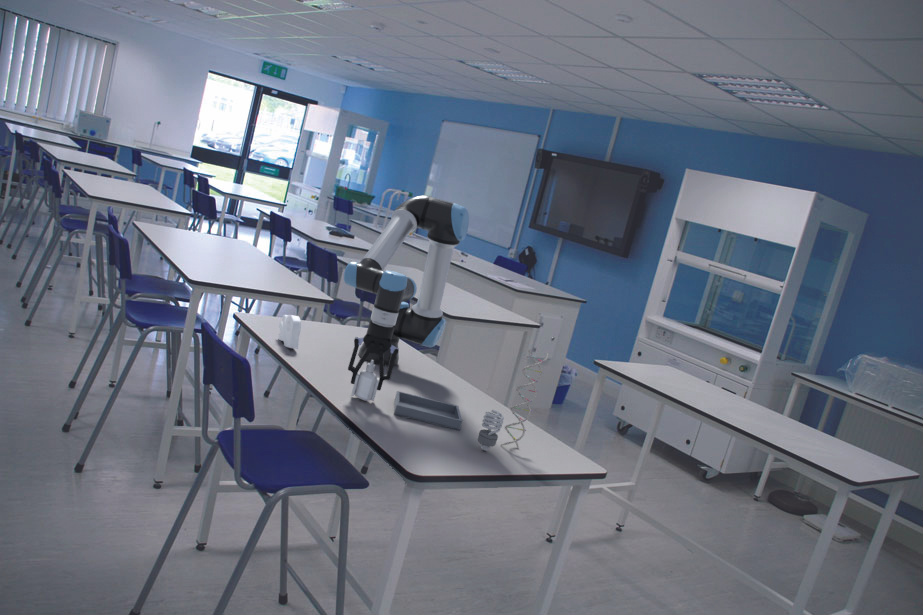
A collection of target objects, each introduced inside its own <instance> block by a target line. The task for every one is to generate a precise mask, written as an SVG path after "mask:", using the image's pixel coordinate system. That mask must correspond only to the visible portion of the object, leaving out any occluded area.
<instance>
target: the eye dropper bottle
mask: <svg viewBox="0 0 923 615" xmlns="http://www.w3.org/2000/svg"><path fill="white" fill-rule="evenodd" d="M375 368H376V364H375V363H374V360H371V362H370V361H369V362H368V363H367V364H366V368H365V369H364V370H360V372H359V373H360V374H359V378H358V382H357V385H356V389H355V393H354V396H355V397H357V398H358V399H360V400H362V401H365V402H370V401H372V400H371V399H372V396H373V392H374V388H375V385H376V381H377V378H378V377H377V374H376V373H375Z"/></svg>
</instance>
